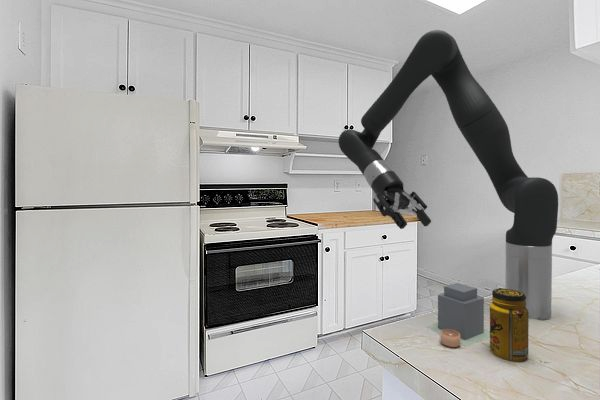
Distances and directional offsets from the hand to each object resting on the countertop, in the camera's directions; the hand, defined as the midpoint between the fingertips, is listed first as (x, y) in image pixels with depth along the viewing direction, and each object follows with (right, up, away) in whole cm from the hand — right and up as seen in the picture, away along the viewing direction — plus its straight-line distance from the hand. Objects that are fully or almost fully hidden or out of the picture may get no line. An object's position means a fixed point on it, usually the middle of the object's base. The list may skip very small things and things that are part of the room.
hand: (416, 225), depth 78 cm
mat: (+6, -22, -9) cm, 25 cm away
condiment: (+11, -23, -19) cm, 32 cm away
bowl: (+1, -23, -15) cm, 27 cm away
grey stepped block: (+6, -22, -9) cm, 25 cm away
